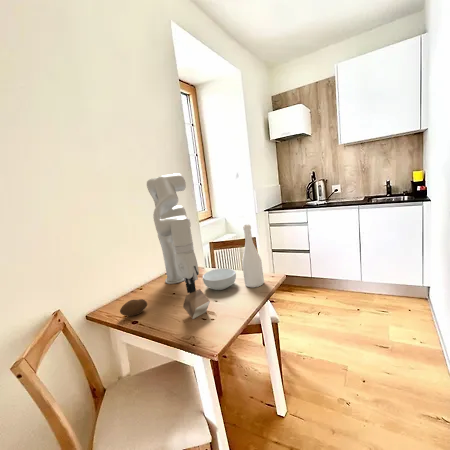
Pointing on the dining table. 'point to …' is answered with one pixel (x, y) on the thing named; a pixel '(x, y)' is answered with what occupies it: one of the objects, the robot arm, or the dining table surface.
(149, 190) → the robot arm
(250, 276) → the wine bottle
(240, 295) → the dining table surface
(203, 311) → the cube
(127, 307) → the potato
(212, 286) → the cereal bowl
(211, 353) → the dining table surface
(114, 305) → the dining table surface
